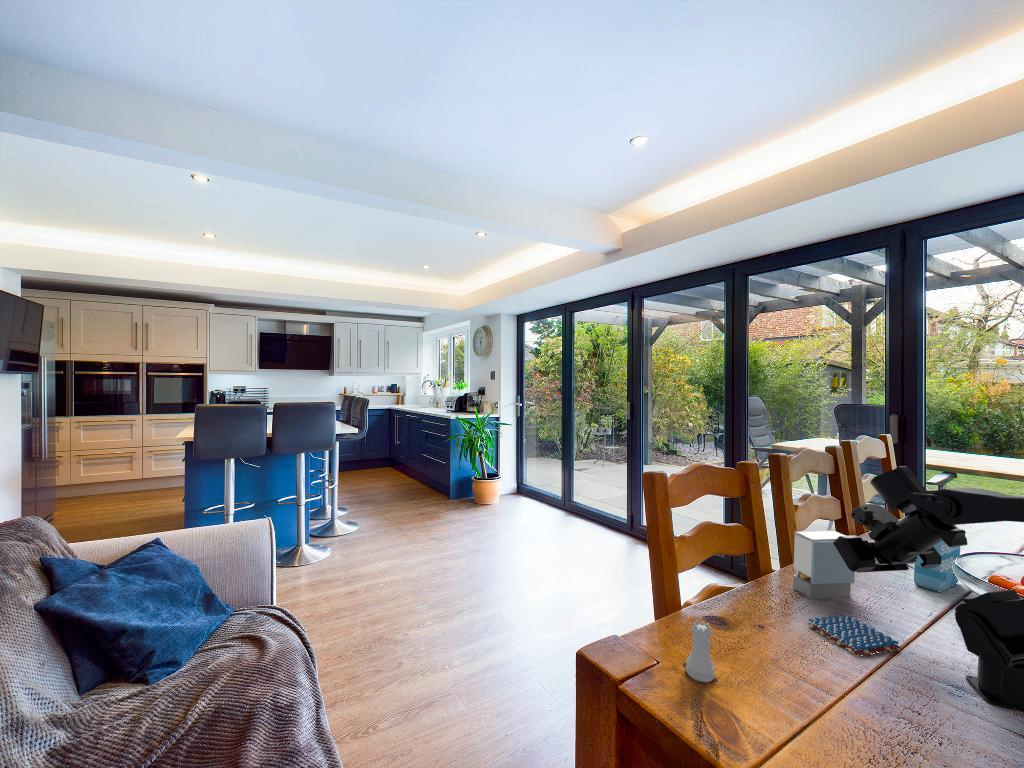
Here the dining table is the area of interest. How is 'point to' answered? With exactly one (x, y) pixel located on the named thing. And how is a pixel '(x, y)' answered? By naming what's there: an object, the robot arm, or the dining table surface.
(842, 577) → the box door
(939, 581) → the blue carton
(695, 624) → the rook chess piece
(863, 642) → the woven mat
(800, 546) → the box
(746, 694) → the dining table surface
